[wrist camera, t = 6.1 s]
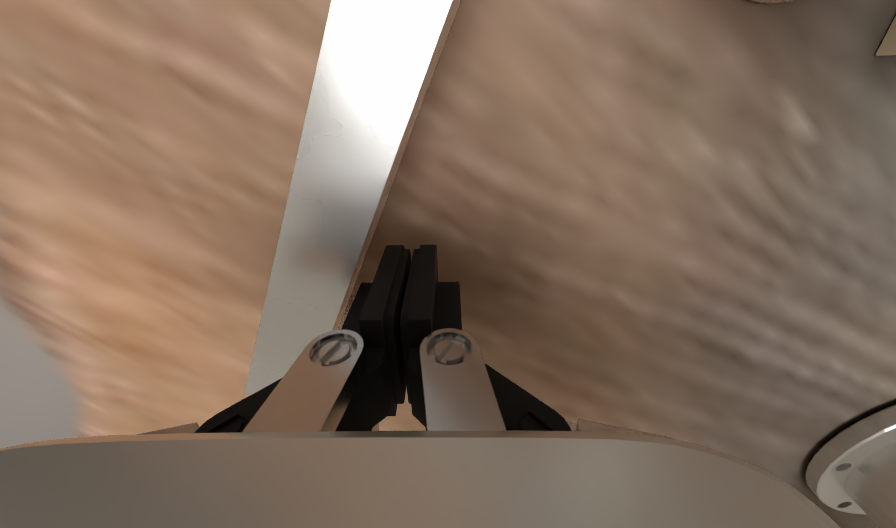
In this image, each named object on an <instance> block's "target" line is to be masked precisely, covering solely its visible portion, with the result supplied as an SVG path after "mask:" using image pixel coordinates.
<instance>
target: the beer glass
mask: <svg viewBox="0 0 896 528" xmlns="http://www.w3.org/2000/svg"><path fill="white" fill-rule="evenodd" d="M750 1H754V2H759V3H784V2H790V1H795V0H750Z"/></svg>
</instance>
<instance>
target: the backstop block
mask: <svg viewBox="0 0 896 528" xmlns="http://www.w3.org/2000/svg"><path fill="white" fill-rule="evenodd" d="M889 55H896V16H895V18H894V20H893V22H892V24H891V26H890V28H889V30H888V32H887V34H886V35H885V37H884V39H883V41H882V43H881V45H880V47H879V49H878V51H877V53H876V55H875V56H889Z"/></svg>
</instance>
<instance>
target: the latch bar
mask: <svg viewBox="0 0 896 528" xmlns="http://www.w3.org/2000/svg"><path fill="white" fill-rule="evenodd" d="M460 2H461V0H332V1H331V6H330V10H329V15H328V19H327V24H326V28H325V33H324V37H323V42H322V46H321V51H320V55H319V60H318V64H317V69H316V73H315V78H314V82H313V87H312V91H311V96H310V100H309V105H308V109H307V114H306V118H305V123H304V127H303V132H302V136H301V141H300V145H299V150H298V154H297V159H296V163H295V168H294V172H293V177H292V181H291V186H290V190H289V195H288V199H287V204H286V208H285V213H284V217H283V222H282V226H281V231H280V235H279V240H278V244H277V249H276V253H275V258H274V262H273V267H272V271H271V276H270V280H269V285H268V289H267V294H266V298H265V303H264V307H263V312H262V316H261V321H260V325H259V330H258V334H257V339H256V343H255V348H254V352H253V357H252V362H251V366H250V371H249V375H248V380H247V384H246V389H245V393H244V394H248V395H252V394H254V393H256V392H257V391H259V390H261V389H263V388H265V387H266V386H268V385H270V384H272V383H274V382H275V381H277V380H279V379H281V378H283V377H284V375H285V374H286V373H287V371H288V370H289V369H290V367H291V366H292V365H293V363H294V362H295V361H296V359H297V358H298V357H299V355H300V354H301V352H302V351H303V350H304V348H305V347H306V346H307V345H308V344H309V343H310V342H311V341H312V340H313V339H315V338H316V337H318V336H319V335H321V334H324V333H326V332H329V331H333V330H338V328H339V325H340V323H341V320H342V317H343V315H344V312H345V309H346V307H347V304H348V301H349V299H350V296H351V293H352V291H353V288H354V285H355V282H356V280H357V277H358V274H359V272H360V269H361V266H362V264H363V261H364V258H365V256H366V253H367V250H368V248H369V245H370V242H371V240H372V237H373V234H374V232H375V229H376V226H377V224H378V221H379V218H380V216H381V213H382V210H383V208H384V205H385V202H386V200H387V197H388V194H389V192H390V189H391V186H392V183H393V181H394V178H395V175H396V173H397V170H398V167H399V165H400V162H401V159H402V157H403V154H404V151H405V149H406V146H407V143H408V141H409V138H410V135H411V133H412V130H413V127H414V125H415V122H416V119H417V117H418V114H419V111H420V109H421V106H422V103H423V101H424V98H425V95H426V93H427V90H428V87H429V84H430V82H431V79H432V76H433V74H434V71H435V68H436V66H437V63H438V60H439V58H440V55H441V52H442V50H443V47H444V44H445V42H446V39H447V36H448V34H449V31H450V28H451V26H452V23H453V20H454V18H455V15H456V12H457V10H458V7H459V4H460Z"/></svg>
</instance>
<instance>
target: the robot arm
mask: <svg viewBox="0 0 896 528" xmlns="http://www.w3.org/2000/svg"><path fill="white" fill-rule="evenodd" d="M406 385H407V394H408V402H409V404H411V405H412V414H413V415H414V416H415V417H416V418H417V419H418V420H419V421H420V422H421V423H422V424H423V425H424V426H425V427H426V431H379V424H378V423H379V422H380V421H382V420H383V419H384V418H385V417H387V416H396V410H397V404H403V403H404V400H405V392H406ZM805 476H806V483H807V485H808V486H809V488H810V489H811V490H812V492H813V493H814V494H815V495H816V496H817V497H818V498H819V499H820V500H821V501H822V502H823V503H824V504H825V505H826V506H828V507H830V508H832V509H835V510H838V511H842V512H847V513H853V514H867V515H868V516H869V517H870V518H871V519H872V520H873V521H874V523H875V524H876V525H877V526H878V527H879V528H896V405H893V406H891V407H888V408H886V409H883V410H881V411H878V412H876V413H874V414H872V415H870V416H868V417H866V418H864V419H862V420H860V421H858V422H856V423H854V424H853V425H851V426H850V427H848V428H846V429H845V430H843V431H841V432H840V433H838V434H837V435H836V436H835V437H833V438H832V439H831V440H829V441H828V442H827V443H826V444H824V445H823V447H822V448H821V449H820V450H819V451H818V452H817V453H816V454H815V455H814V456H813V458H812V460H811V461H810V463H809V464H808V467H807V471H806V475H805ZM0 528H841V527H840V526H839V525H837V524H836V523H835V522H834V521H833V520H832V519H831V518H830V517H829V516H828V515H827V514H826V513H825V512H823V511H822V510H821V509H820V508H819V507H818V506H816V505H815V504H814V503H813V502H812V501H811V500H809V499H808V498H807V497H806V496H804V495H803V494H802V493H800V492H799V491H798V490H797V489H795V488H794V487H793V486H791V485H790V484H788V483H786V482H785V481H783V480H782V479H780V478H778V477H777V476H775V475H773V474H772V473H770V472H768V471H765V470H763V469H761V468H759V467H757V466H755V465H753V464H750V463H748V462H746V461H743V460H741V459H738V458H736V457H733V456H730V455H727V454H724V453H721V452H718V451H715V450H712V449H709V448H706V447H703V446H700V445H696V444H692V443H687V442H683V441H678V440H675V439H672V438H669V437H666V436H661V435H656V434H651V433H646V432H641V431H636V430H631V429H626V428H620V427H615V426H610V425H605V424H600V423H595V422H590V421H585V420H580V419H578V422H577V424H574V423H569V422H566V421H565V419H564V418H563V417H562V416H561V415H559V414H558V413H557V412H556V411H555V410H553V409H552V408H550V407H549V406H547V405H546V404H544V403H543V402H541V401H540V400H538V399H537V398H535V397H534V396H532V395H531V394H530V393H528V392H527V391H525V390H524V389H522V388H521V387H519V386H518V385H516V384H515V383H513V382H512V381H510V380H509V379H507V378H506V377H504V376H503V375H501V374H500V373H498V372H497V371H495V370H494V369H492V368H491V367H490V366H488V365H487V364H485V363H484V361H483V358H482V354H481V351H480V348H479V345H478V343H477V341H476V340H475V338H474V337H473V336H472V335H470V334H469V333H467V332H465V331H463V330H462V323H461V304H460V285H459V282H438V268H437V245H420V249H414V252H413V257H412V261H411V254H410V249H404V246H403V245H387V246H386V248H385V251H384V254H383V256H382V259H381V262H380V264H379V267H378V270H377V272H376V275H375V278H374V280H373V283H362V284H361V285H360V287H359V289H358V292H357V294H356V296H355V299H354V301H353V303H352V306H351V308H350V310H349V313H348V315H347V317H346V320H345V322H344V324H343V326H342V329H341V330H333V331H329V332H326V333H324V334H321V335H319V336H318V337H316V338H315V339H313V340H312V341H311V342H310V343H309V344H308V345H307V346H306V347H305V348H304V350H303V351H302V352H301V354H300V355H299V357H298V358H297V359H296V361H295V362H294V363H293V365H292V366H291V367H290V369H289V370H288V371H287V373H286V374H285V375H284V377H283V378H281V379H279V380H277V381H275V382H274V383H272V384H270V385H268V386H266V387H265V388H263V389H261V390H259V391H257V392H256V393H254V394H252V395H250V396H248V397H247V398H245V399H243V400H241V401H239V402H238V403H236V404H234V405H232V406H230V407H229V408H227V409H225V410H223V411H221V412H220V413H218V414H216V415H215V416H213V417H212V418H210V419H209V420H207V421H206V422H205V423H204V424H203V425H202V426H201V427H199V425H198V424H197V422H196V423H191V424H186V425H181V426H176V427H171V428H167V429H162V430H157V431H152V432H147V433H142V434H137V435H108V436H93V437H77V438H64V439H56V440H48V441H41V442H33V443H26V444H21V445H16V446H11V447H6V448H1V449H0Z"/></svg>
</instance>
